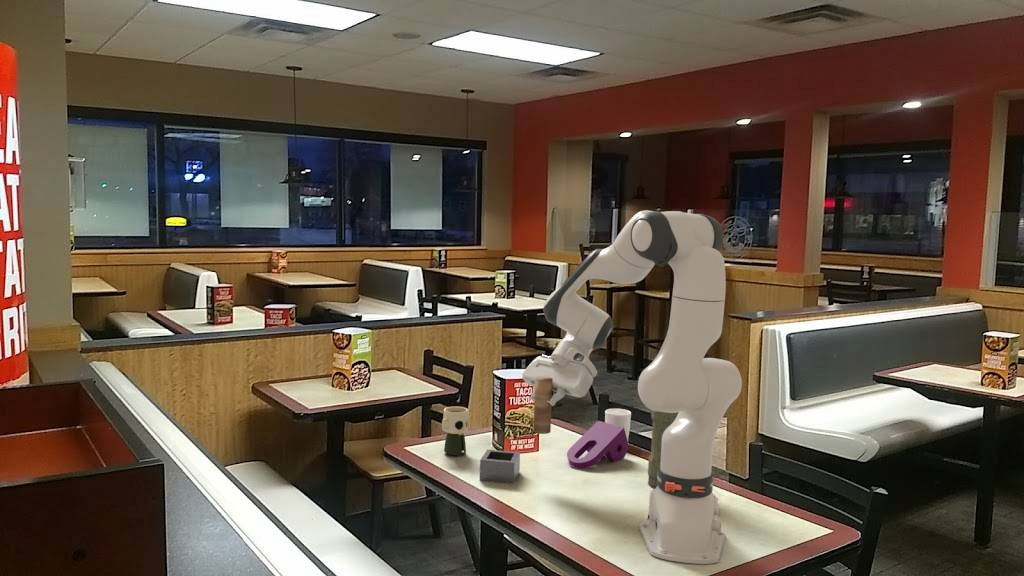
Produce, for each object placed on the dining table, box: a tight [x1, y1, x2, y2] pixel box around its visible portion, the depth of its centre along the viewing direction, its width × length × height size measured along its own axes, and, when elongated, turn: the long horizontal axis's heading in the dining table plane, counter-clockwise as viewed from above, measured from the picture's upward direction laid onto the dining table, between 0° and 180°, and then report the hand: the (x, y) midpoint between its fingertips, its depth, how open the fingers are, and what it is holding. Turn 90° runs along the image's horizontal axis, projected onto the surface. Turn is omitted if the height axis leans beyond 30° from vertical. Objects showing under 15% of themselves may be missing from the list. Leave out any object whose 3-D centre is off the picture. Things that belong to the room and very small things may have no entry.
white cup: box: [604, 408, 632, 442], centre depth 236 cm, size 8×8×10 cm
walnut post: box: [532, 376, 553, 435], centre depth 199 cm, size 4×4×14 cm
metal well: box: [479, 449, 521, 485], centre depth 203 cm, size 9×9×6 cm
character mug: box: [441, 406, 470, 456], centre depth 220 cm, size 11×7×13 cm, turn 141°
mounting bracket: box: [566, 420, 629, 470], centre depth 219 cm, size 9×8×18 cm
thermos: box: [647, 410, 679, 490], centre depth 199 cm, size 9×12×35 cm
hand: (541, 401), depth 198 cm, fingers closed on walnut post, 4 cm apart
